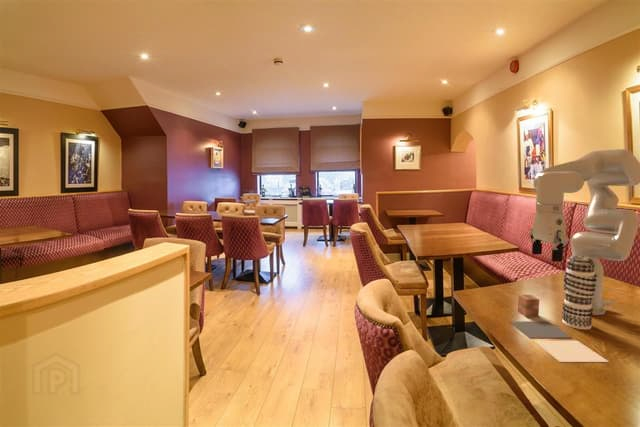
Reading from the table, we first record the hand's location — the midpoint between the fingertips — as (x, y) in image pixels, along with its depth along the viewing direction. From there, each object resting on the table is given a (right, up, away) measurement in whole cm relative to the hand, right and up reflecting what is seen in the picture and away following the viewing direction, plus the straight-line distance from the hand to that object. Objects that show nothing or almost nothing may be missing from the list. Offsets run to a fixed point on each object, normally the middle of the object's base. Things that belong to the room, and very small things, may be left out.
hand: (546, 257), depth 110 cm
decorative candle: (+15, -25, +6) cm, 30 cm away
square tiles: (-1, -27, -5) cm, 27 cm away
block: (+3, -25, +15) cm, 29 cm away
